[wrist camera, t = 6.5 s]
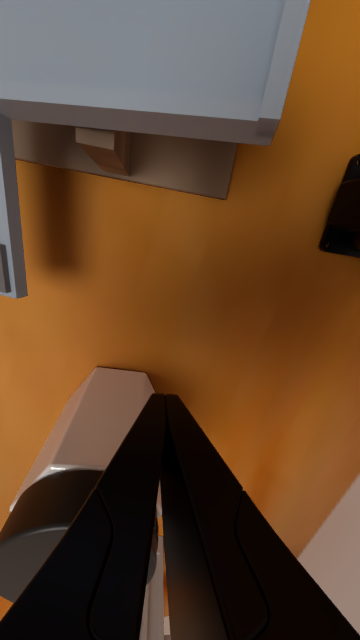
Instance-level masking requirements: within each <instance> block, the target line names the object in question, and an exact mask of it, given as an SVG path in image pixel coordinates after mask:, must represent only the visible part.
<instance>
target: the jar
mask: <svg viewBox="0 0 360 640" xmlns="http://www.w3.org/2000/svg"><path fill="white" fill-rule="evenodd" d="M152 393H155V391H154V389H153V387H152V385H151V383H150V381H149V378H148V376H147V374H146V373H144V372H136V371H127V370H118V369H110V368H102V367H96V368H95V369H94V370H93V371H92V372H91V373H90V374H89V376H88V377H87V378H86V379H85V380H84V381H83V383H82V384H81V385H80V386H79V387H78V389H77V390H76V391H75V392H74V393H73V394H72V396H71V397H70V398H69V399H68V401H67V403H66V405H65V407H64V409H63V411H62V412H61V414H60V416H59V418H58V420H57V422H56V423H55V425H54V427H53V429H52V431H51V433H50V434H49V436H48V438H47V440H46V442H45V444H44V445H43V447H42V449H41V451H40V453H39V455H38V456H37V458H36V460H35V462H34V464H33V466H32V467H31V469H30V471H29V473H28V475H27V477H26V478H25V480H24V482H23V484H22V486H21V488H20V489H19V491H18V493H17V495H16V497H15V499H14V500H13V502H12V504H11V506H10V512H11V513H10V515H9V517H8V519H7V521H6V523H5V525H4V526H3V528H2V530H1V532H0V596H2V597H3V598H5V599H7V600H9V601H11V602H13V603H14V602H15V601H16V599H17V598H18V597H19V595H20V594H21V593H22V591H23V590H24V589H25V587H26V586H27V585H28V583H29V582H30V581H31V579H32V578H33V577H34V575H35V574H36V573H37V571H38V570H39V569H40V567H41V566H42V565H43V563H44V562H45V560H46V559H47V558H48V556H49V555H50V553H51V552H52V551H53V549H54V548H55V546H56V545H57V544H58V542H59V541H60V539H61V538H62V537H63V535H64V534H65V532H66V531H67V529H68V528H69V526H70V525H71V523H72V522H73V520H74V518H75V517H76V515H77V514H78V512H79V511H80V509H81V508H82V506H83V505H84V503H85V501H86V500H87V498H88V496H89V495H90V493H91V492H92V490H93V489H95V485H96V484H97V482H98V480H99V479H100V477H101V476H102V474H103V472H104V471H105V469H106V467H107V466H108V464H109V463H110V461H111V459H112V458H113V456H114V454H115V453H116V451H117V450H118V448H119V446H120V445H121V443H122V441H123V440H124V438H125V436H126V435H127V433H128V432H129V430H130V428H131V427H132V425H133V423H134V422H135V420H136V419H137V417H138V415H139V414H140V412H141V410H142V409H143V407H144V406H145V404H146V402H147V401H148V399H149V397H150V396H151V394H152ZM161 515H162V505H161V490H160V482H159V490H158V498H157V505H156V513H155V521H154V529H153V537H152V544H151V552H150V560H149V568H148V576H147V583H146V585H147V584H148V583H149V582H150V581H151V579H152V577H153V575H154V573H155V570H156V564H157V549H158V521H157V519H158V518H159V517H160V516H161Z"/></svg>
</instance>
